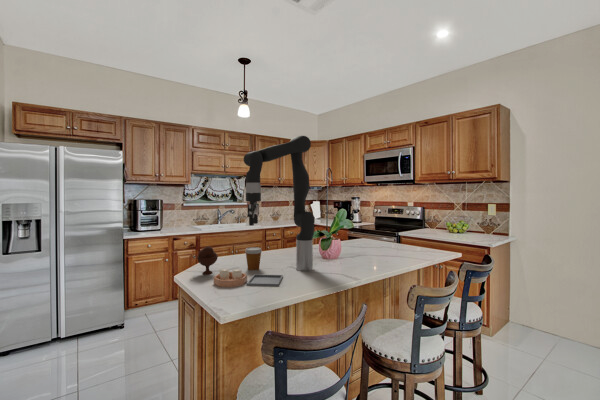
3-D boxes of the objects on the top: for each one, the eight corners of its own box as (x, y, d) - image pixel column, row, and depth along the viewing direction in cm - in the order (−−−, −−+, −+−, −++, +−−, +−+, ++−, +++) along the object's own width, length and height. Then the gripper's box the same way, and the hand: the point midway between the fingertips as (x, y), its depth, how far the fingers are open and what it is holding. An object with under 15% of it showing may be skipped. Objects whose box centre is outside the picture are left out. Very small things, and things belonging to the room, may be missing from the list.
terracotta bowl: (221, 278, 152) (221, 271, 152) (249, 279, 151) (249, 272, 151) (210, 287, 137) (210, 280, 137) (241, 288, 136) (241, 280, 136)
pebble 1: (221, 279, 147) (221, 268, 147) (230, 280, 146) (230, 269, 146) (218, 282, 142) (218, 271, 142) (227, 282, 142) (227, 271, 142)
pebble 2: (234, 280, 146) (234, 269, 146) (242, 280, 146) (242, 269, 146) (231, 283, 142) (231, 271, 142) (240, 283, 141) (240, 271, 141)
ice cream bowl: (221, 271, 165) (221, 244, 165) (210, 277, 155) (210, 248, 154) (204, 270, 168) (204, 243, 168) (192, 275, 158) (192, 247, 157)
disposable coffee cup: (259, 272, 164) (259, 250, 164) (242, 271, 166) (242, 250, 165) (263, 267, 174) (263, 247, 173) (248, 267, 175) (248, 246, 175)
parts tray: (254, 277, 154) (254, 274, 154) (282, 278, 153) (282, 275, 153) (246, 286, 139) (246, 283, 139) (278, 287, 138) (278, 284, 138)
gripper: (249, 192, 155) (249, 223, 156) (242, 192, 141) (242, 226, 142) (263, 192, 155) (263, 223, 155) (257, 192, 141) (257, 226, 141)
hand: (253, 224), depth 149 cm, fingers open, 8 cm apart
